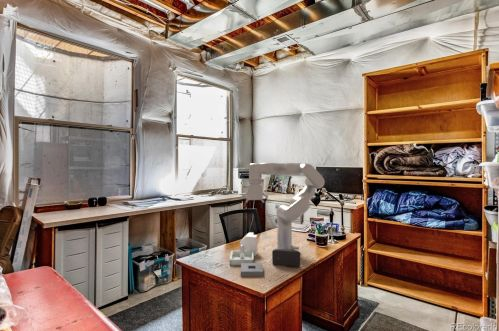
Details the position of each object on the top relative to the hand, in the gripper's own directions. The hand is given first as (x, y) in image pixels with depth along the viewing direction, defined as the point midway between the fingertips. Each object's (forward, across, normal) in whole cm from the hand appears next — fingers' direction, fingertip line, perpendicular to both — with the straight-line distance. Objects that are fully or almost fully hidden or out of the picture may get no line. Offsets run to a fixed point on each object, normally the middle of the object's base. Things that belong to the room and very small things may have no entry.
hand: (254, 208), depth 181 cm
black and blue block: (+31, -18, +19) cm, 40 cm away
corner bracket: (+31, +4, -5) cm, 31 cm away
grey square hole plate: (+30, +2, +28) cm, 41 cm away
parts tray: (+30, +8, +11) cm, 33 cm away
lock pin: (+30, +8, +11) cm, 32 cm away
